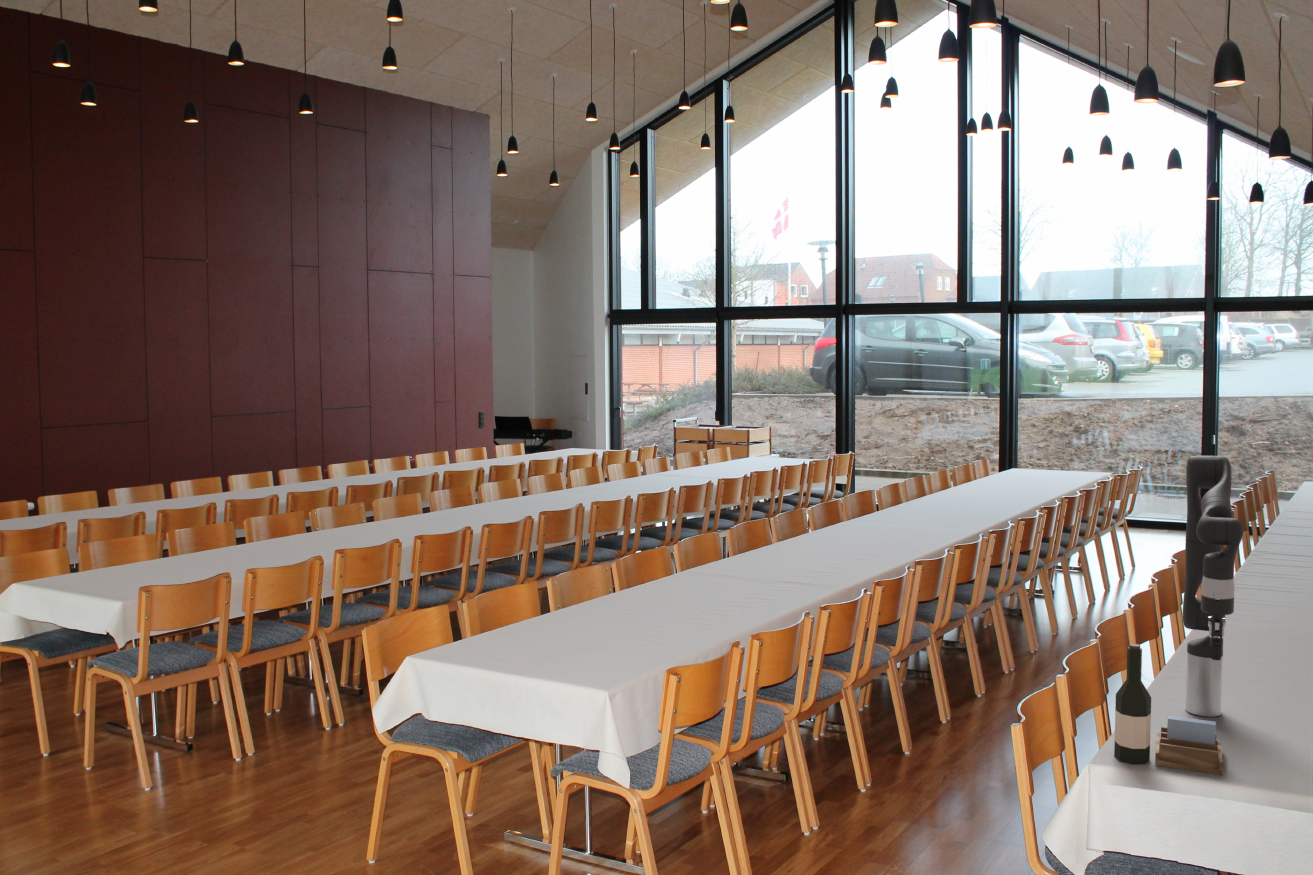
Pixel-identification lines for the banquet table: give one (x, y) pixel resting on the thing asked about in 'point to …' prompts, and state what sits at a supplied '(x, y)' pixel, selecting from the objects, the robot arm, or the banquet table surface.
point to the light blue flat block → (1191, 730)
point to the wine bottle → (1133, 714)
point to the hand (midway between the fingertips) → (1215, 654)
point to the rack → (1188, 754)
